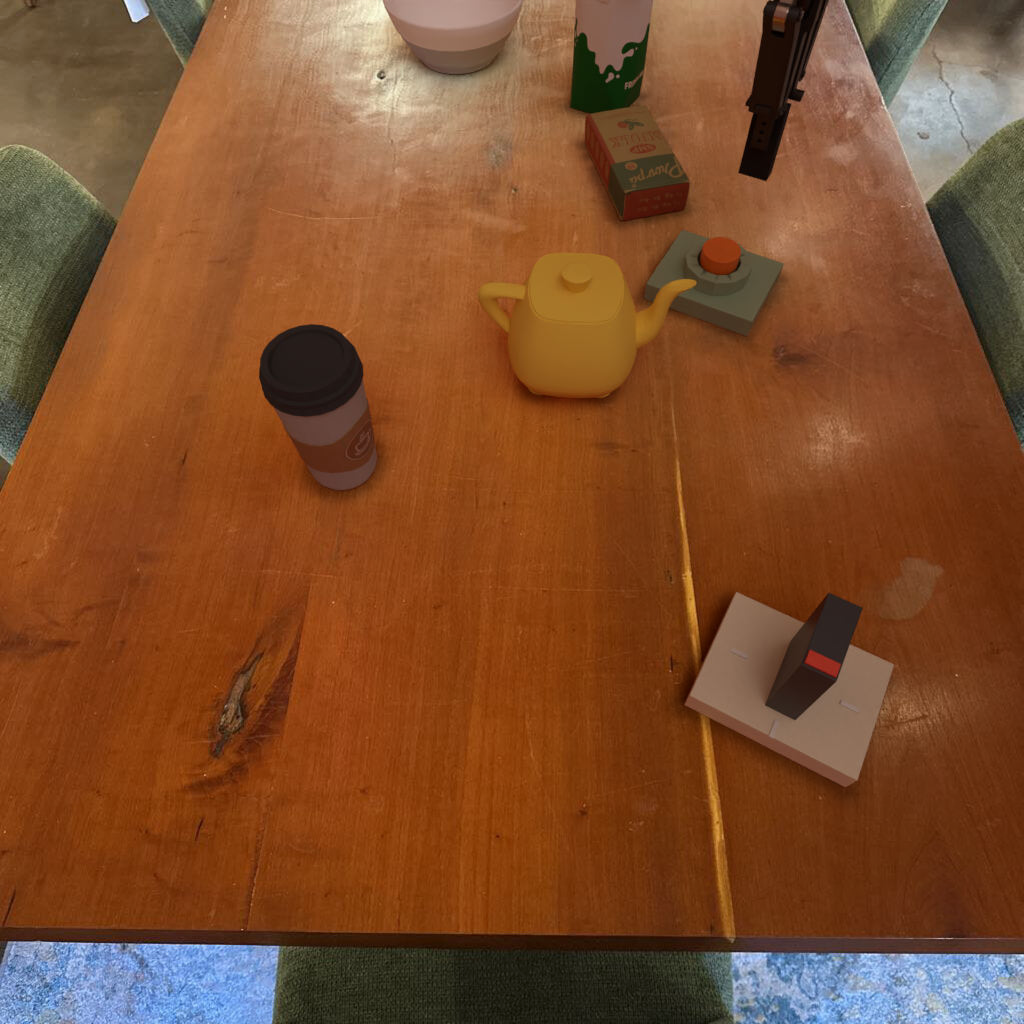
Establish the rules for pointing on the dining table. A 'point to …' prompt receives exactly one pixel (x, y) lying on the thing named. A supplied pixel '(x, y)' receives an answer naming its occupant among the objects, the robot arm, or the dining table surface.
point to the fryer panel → (750, 677)
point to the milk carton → (609, 53)
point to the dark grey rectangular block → (814, 656)
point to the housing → (716, 285)
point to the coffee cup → (321, 402)
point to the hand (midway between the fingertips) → (754, 172)
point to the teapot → (576, 324)
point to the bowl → (454, 30)
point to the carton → (635, 163)
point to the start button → (720, 256)
